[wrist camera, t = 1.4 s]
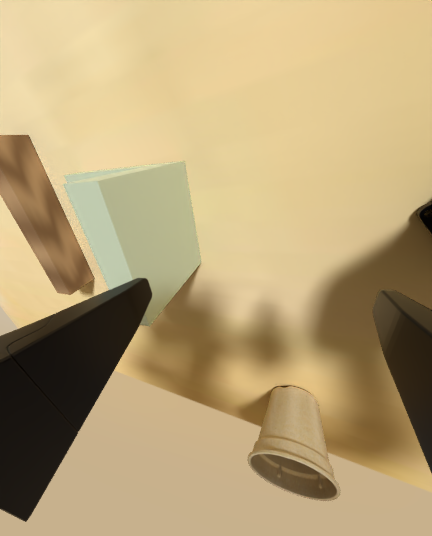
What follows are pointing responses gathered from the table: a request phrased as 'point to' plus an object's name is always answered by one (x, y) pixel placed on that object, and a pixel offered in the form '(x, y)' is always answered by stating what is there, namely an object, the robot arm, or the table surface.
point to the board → (40, 214)
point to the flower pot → (294, 447)
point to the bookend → (139, 226)
